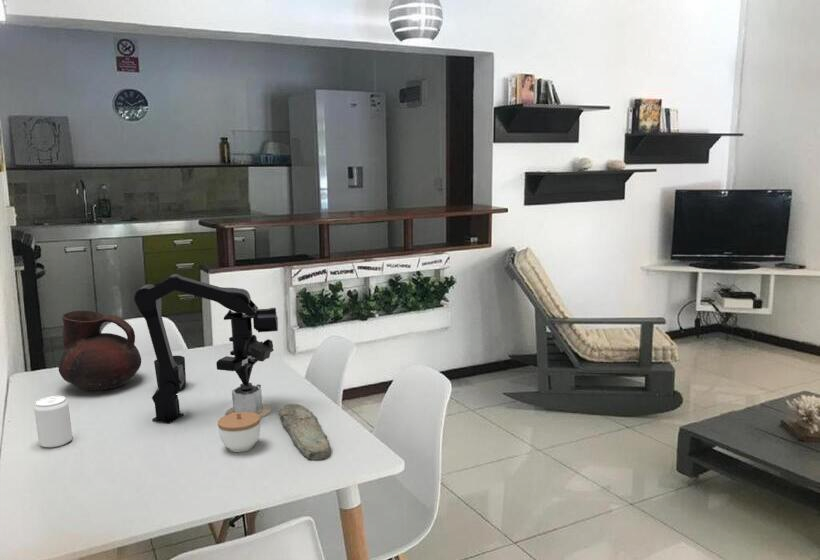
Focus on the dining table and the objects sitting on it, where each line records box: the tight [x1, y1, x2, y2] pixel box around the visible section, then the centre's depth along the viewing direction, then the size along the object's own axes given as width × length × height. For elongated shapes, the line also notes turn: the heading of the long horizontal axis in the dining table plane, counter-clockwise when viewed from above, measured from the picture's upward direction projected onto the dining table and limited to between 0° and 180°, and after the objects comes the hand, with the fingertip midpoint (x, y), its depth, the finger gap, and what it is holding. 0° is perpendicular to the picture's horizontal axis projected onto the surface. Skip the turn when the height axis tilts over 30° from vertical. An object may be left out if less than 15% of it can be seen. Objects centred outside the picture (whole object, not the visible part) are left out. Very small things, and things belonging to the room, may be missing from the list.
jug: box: [58, 310, 142, 391], centre depth 227 cm, size 25×25×25 cm
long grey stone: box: [278, 403, 331, 461], centre depth 185 cm, size 35×5×10 cm
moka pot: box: [224, 383, 271, 419], centre depth 201 cm, size 13×13×7 cm
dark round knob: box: [239, 382, 253, 394], centre depth 201 cm, size 5×5×6 cm
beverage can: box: [33, 395, 73, 448], centre depth 183 cm, size 8×8×12 cm
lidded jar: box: [217, 412, 261, 453], centre depth 178 cm, size 11×11×9 cm
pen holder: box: [153, 355, 187, 392], centre depth 223 cm, size 9×9×10 cm
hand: (246, 384), depth 200 cm, fingers closed, pressing on dark round knob
